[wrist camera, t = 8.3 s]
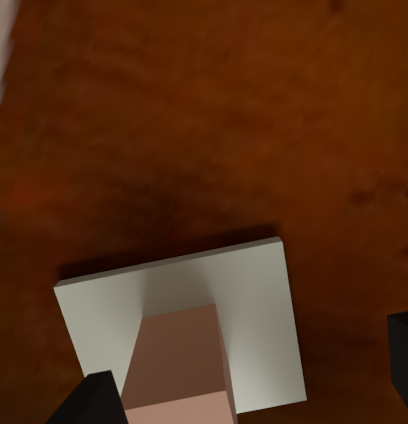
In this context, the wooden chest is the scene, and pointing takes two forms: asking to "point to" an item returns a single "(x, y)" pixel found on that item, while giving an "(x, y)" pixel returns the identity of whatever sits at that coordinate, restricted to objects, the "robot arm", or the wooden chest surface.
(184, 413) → the block
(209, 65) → the wooden chest surface
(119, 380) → the mat
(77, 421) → the robot arm
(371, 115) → the wooden chest surface
